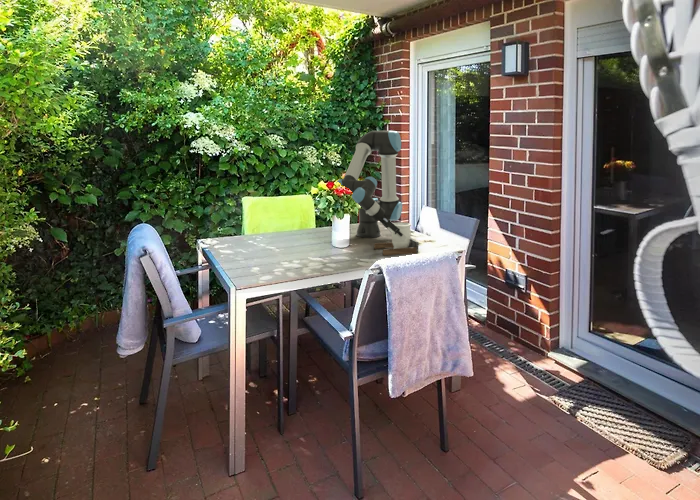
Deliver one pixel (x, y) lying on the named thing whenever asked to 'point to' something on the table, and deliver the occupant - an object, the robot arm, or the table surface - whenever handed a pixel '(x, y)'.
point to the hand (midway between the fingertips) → (400, 236)
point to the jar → (405, 230)
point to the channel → (411, 249)
